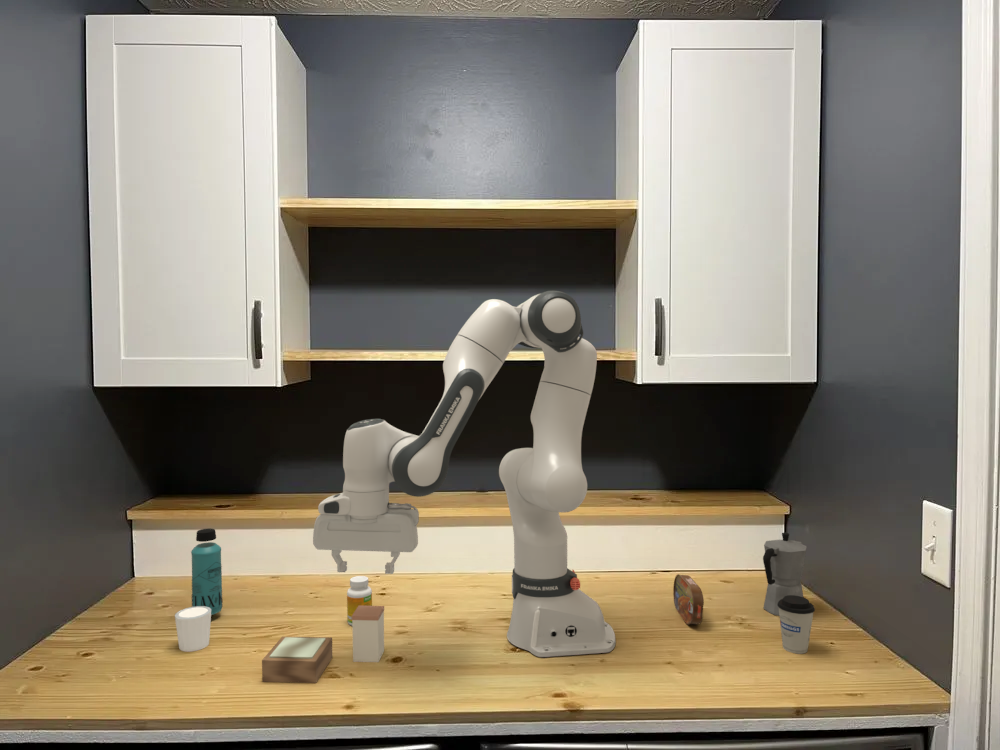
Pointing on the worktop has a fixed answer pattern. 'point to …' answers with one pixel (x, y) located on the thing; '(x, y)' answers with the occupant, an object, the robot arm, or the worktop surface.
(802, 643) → the coffee cup
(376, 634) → the two-tone lidded box
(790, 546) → the coffeepot
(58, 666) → the worktop surface
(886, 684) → the worktop surface
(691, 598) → the tin
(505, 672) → the worktop surface
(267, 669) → the base
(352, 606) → the supplement bottle
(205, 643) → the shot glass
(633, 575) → the worktop surface
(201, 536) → the beverage bottle
